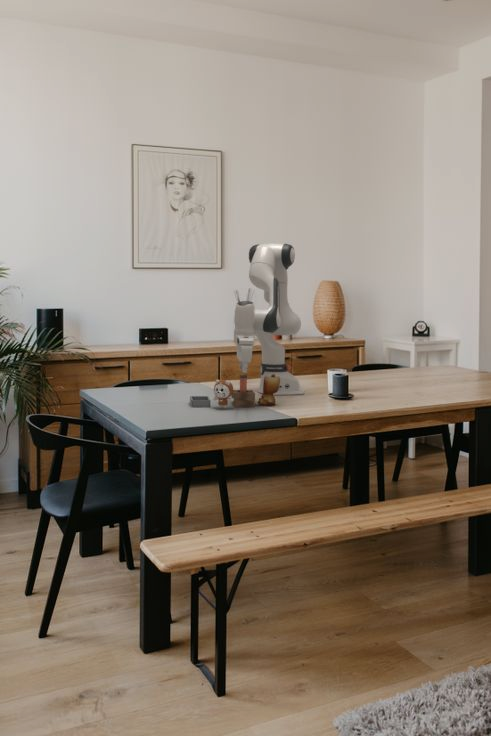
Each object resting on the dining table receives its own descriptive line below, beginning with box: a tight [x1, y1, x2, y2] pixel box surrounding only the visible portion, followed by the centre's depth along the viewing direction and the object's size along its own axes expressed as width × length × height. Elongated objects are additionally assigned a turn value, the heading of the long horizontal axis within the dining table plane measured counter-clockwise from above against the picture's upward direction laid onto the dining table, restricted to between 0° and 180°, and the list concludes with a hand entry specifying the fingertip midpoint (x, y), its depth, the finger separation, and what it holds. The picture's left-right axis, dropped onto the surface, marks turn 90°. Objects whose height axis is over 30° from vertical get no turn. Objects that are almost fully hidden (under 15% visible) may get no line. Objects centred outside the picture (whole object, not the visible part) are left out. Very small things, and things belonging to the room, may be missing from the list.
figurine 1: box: [212, 379, 234, 409], centre depth 290 cm, size 9×9×12 cm
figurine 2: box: [257, 374, 280, 407], centre depth 301 cm, size 10×8×15 cm
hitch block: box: [230, 389, 256, 408], centre depth 299 cm, size 9×9×6 cm
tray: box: [189, 395, 211, 408], centre depth 297 cm, size 8×11×3 cm
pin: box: [239, 374, 248, 392], centre depth 298 cm, size 3×3×13 cm
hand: (243, 371), depth 297 cm, fingers open, 8 cm apart
